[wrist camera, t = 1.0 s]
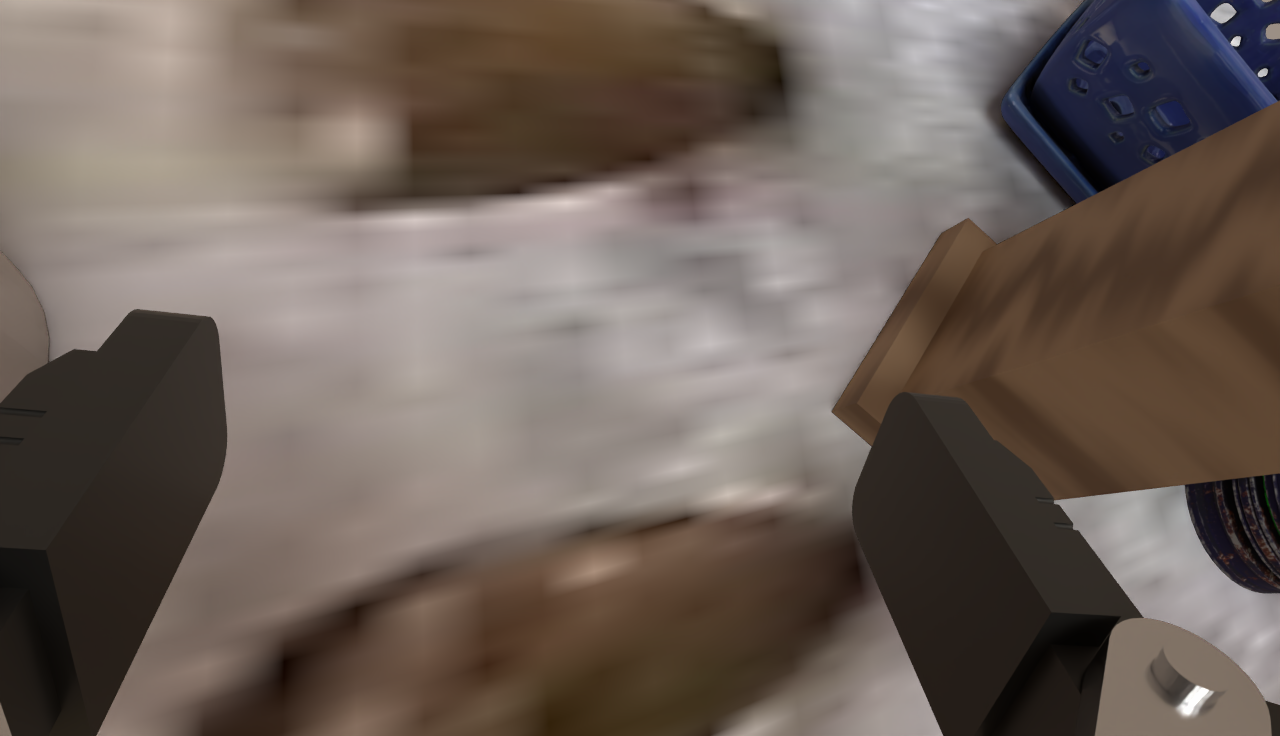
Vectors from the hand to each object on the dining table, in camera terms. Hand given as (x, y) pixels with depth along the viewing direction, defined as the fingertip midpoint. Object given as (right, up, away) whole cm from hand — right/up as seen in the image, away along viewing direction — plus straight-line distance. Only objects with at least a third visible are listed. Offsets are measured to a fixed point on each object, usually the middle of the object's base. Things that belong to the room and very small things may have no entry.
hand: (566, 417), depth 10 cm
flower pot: (+26, +14, +39) cm, 49 cm away
